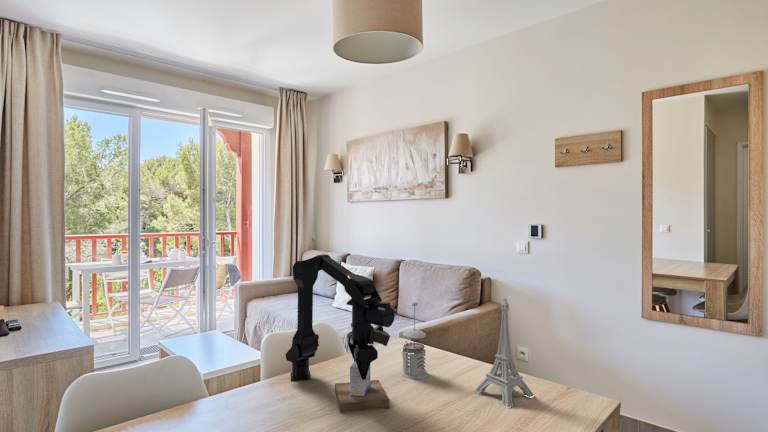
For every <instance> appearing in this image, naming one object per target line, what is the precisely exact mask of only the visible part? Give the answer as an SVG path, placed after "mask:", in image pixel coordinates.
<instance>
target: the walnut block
mask: <svg viewBox="0 0 768 432" xmlns="http://www.w3.org/2000/svg"><path fill="white" fill-rule="evenodd" d="M334 394H335V398H336V401H337V405H338V408H339V412H340V413H341V414H342V413H351V412H359V411H361V412H362V411H371V410H380V409H389V408H390V398H389V396H388V395H387V392H386V391H385V388H384V387H383V385H382V383H381V382H380V380H379V379H375V380H374V379H373V380H372V379H370V387H369V389H368V390H367V392H366V394H365V396H364V397H363V396H353V395H350V381H347V382H338V383H337V382H336V383H334Z"/></svg>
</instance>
